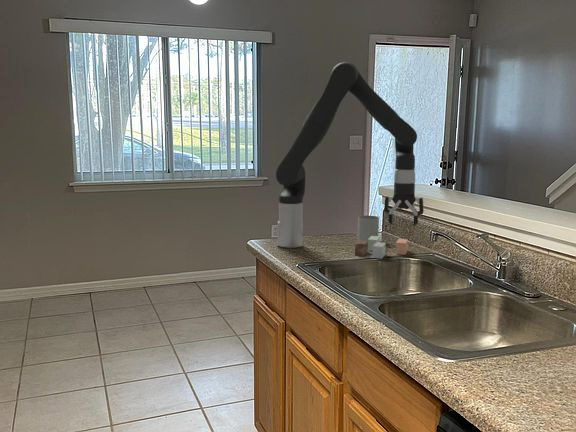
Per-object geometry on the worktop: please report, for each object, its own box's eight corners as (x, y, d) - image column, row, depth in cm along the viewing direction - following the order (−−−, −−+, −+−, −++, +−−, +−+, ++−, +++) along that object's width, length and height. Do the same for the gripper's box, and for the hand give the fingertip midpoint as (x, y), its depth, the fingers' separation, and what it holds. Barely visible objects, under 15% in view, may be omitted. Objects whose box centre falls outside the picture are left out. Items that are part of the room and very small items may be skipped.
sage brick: (367, 250, 213) (367, 239, 212) (370, 247, 220) (371, 235, 219) (376, 251, 212) (376, 240, 211) (379, 247, 219) (380, 236, 218)
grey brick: (372, 258, 202) (372, 246, 201) (375, 253, 208) (376, 242, 207) (382, 259, 200) (382, 246, 200) (385, 254, 207) (385, 242, 206)
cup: (353, 239, 233) (354, 216, 231) (370, 238, 236) (371, 214, 234) (364, 243, 225) (365, 219, 223) (382, 242, 228) (382, 218, 227)
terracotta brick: (395, 254, 208) (396, 242, 207) (398, 250, 214) (398, 238, 213) (405, 255, 207) (405, 243, 206) (407, 251, 213) (408, 239, 212)
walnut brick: (354, 255, 206) (355, 243, 205) (358, 251, 212) (358, 239, 211) (364, 256, 205) (364, 244, 204) (367, 252, 211) (367, 240, 210)
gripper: (383, 181, 205) (382, 225, 207) (423, 183, 200) (421, 227, 203) (386, 180, 212) (385, 222, 214) (425, 181, 207) (423, 224, 210)
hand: (403, 224), depth 208 cm, fingers open, 8 cm apart
